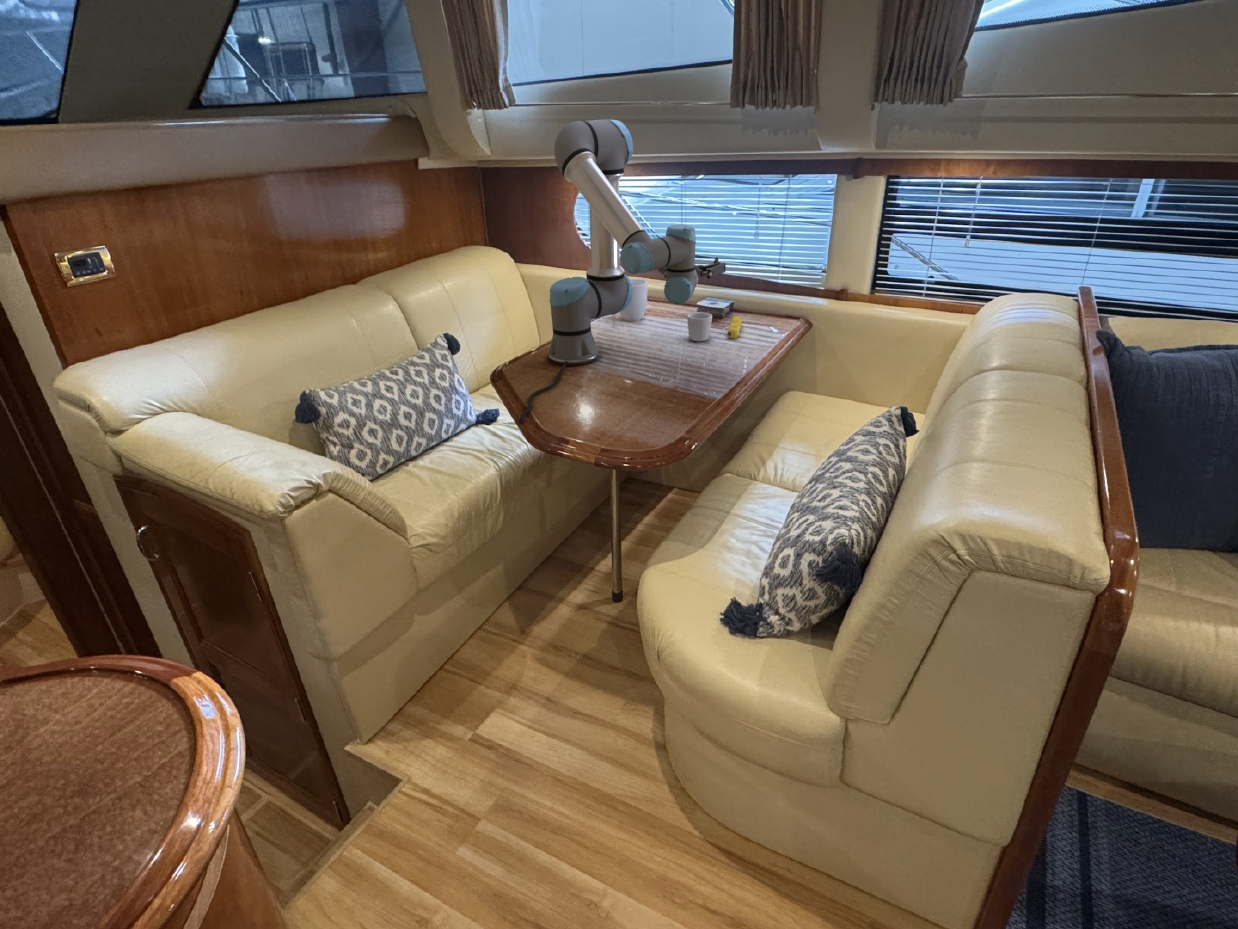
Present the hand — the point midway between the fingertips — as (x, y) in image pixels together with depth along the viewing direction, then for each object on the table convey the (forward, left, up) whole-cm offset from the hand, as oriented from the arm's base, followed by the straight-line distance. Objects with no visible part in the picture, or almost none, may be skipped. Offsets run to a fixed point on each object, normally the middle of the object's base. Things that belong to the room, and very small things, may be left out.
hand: (694, 261), depth 205 cm
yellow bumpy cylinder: (+9, -13, -25) cm, 30 cm away
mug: (+20, +26, -25) cm, 41 cm away
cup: (+1, -2, -25) cm, 25 cm away
